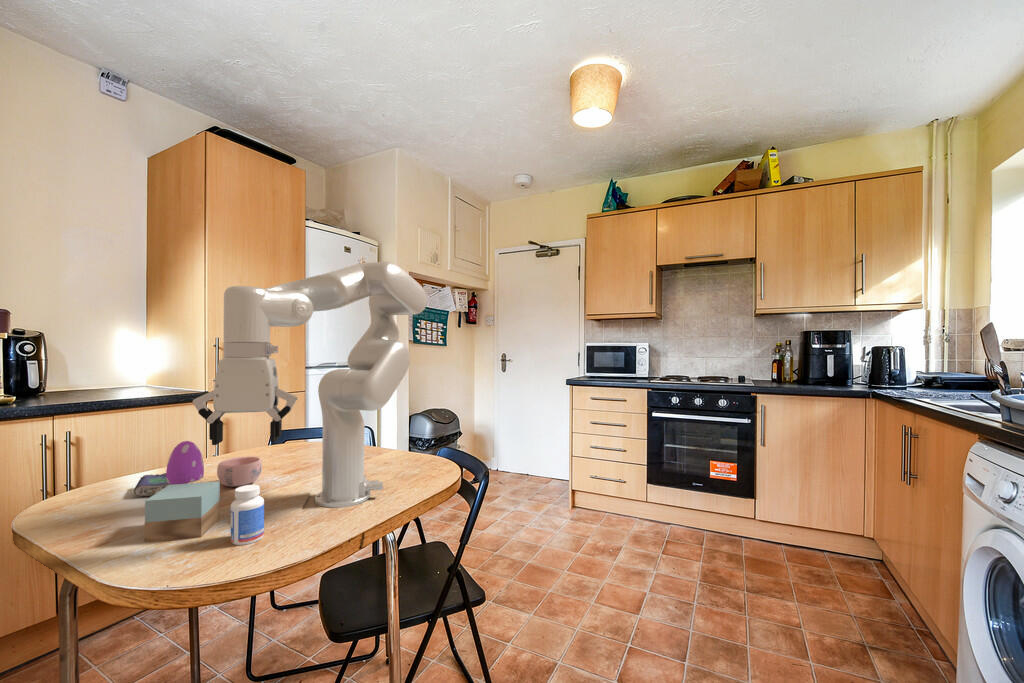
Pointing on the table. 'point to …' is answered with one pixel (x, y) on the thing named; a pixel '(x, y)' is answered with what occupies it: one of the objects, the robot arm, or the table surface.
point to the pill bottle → (247, 515)
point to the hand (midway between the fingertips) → (246, 442)
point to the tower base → (182, 526)
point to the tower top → (182, 501)
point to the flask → (151, 485)
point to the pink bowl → (239, 471)
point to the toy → (185, 464)
